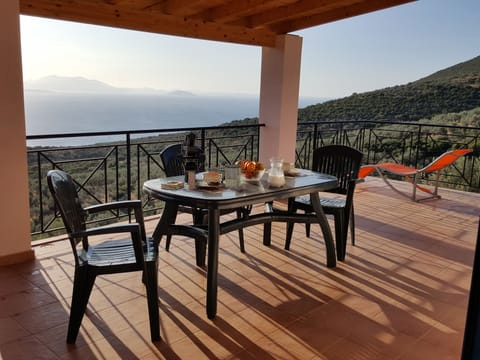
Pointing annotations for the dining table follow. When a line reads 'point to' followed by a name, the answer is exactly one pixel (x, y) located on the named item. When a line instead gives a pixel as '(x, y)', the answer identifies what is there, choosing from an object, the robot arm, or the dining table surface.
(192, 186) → the pink tall block
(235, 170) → the coffee can
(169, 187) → the rack
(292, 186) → the dining table surface
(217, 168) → the food container
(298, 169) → the dining table surface
